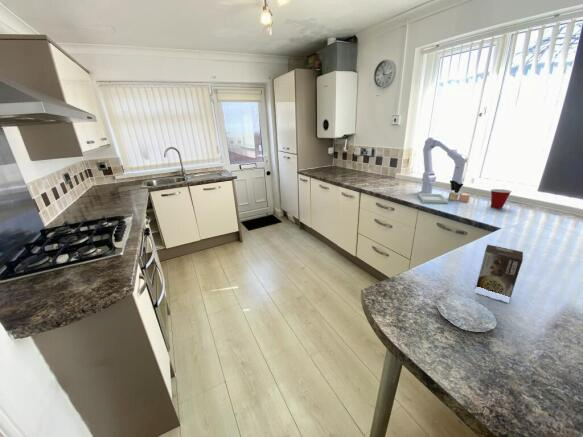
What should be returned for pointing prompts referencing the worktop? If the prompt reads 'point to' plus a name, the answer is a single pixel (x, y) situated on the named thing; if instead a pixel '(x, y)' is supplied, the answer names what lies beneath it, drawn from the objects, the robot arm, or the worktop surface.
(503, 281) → the coffee box
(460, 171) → the robot arm
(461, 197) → the terracotta block
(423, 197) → the grey tray
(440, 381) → the worktop surface
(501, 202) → the plastic cup
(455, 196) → the oak block
